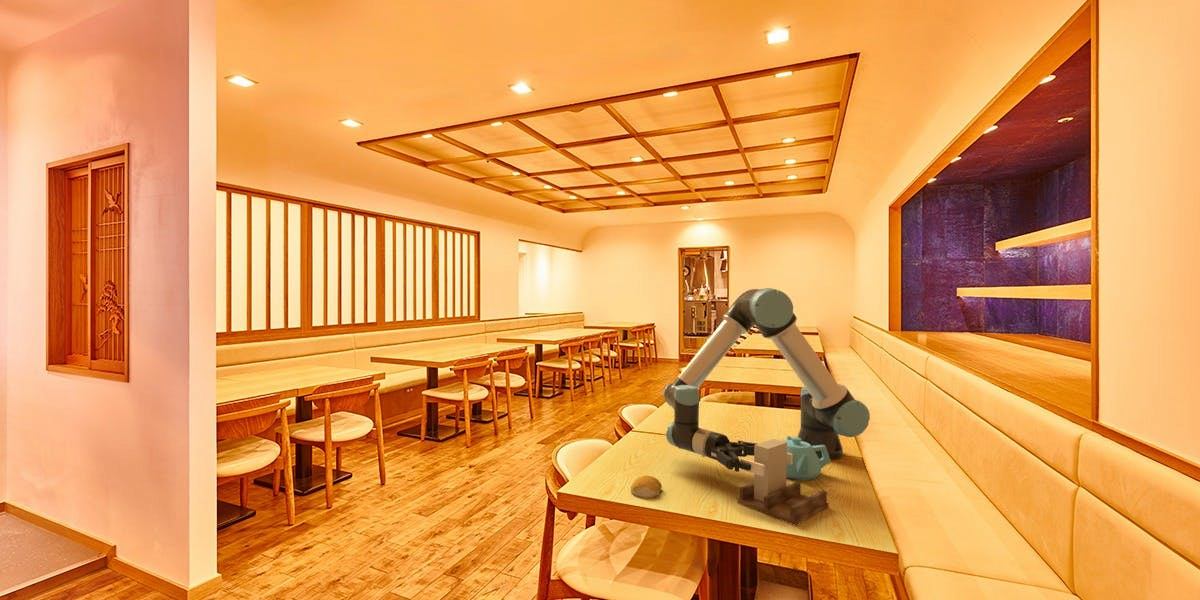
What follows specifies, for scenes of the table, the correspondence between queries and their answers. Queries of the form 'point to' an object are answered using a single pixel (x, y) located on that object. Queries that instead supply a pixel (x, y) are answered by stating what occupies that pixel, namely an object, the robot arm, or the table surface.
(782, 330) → the robot arm
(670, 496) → the table surface
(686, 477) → the table surface
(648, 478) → the bread roll
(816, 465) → the teapot
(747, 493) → the walnut rack
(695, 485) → the table surface
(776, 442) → the cardboard box
